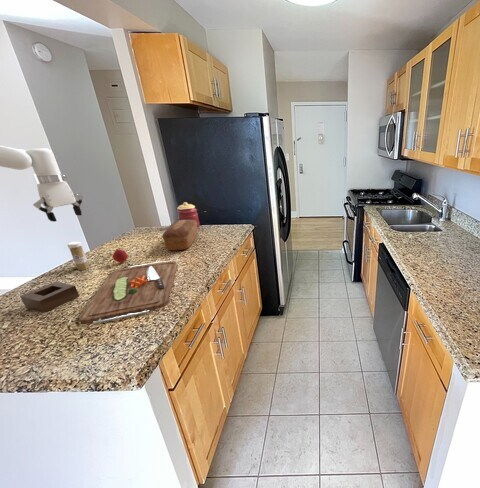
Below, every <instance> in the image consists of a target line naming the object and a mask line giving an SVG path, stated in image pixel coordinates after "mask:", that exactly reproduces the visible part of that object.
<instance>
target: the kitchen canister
mask: <svg viewBox="0 0 480 488" xmlns="http://www.w3.org/2000/svg"><path fill="white" fill-rule="evenodd" d="M176 209H177V210H176V213H177V219H178V221H179V220H195V221H196V222H197V228H198V227H200V226H201V225H200V224H201V223H200V222H201V221H200V220H199V213H198V212H197V211H198V209H197V208H196V205H194V204H192V203H188V202H186V201H184V202H183V203H182V204H180V205H178V207H176Z"/></svg>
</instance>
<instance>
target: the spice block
mask: <svg viewBox="0 0 480 488" xmlns="http://www.w3.org/2000/svg"><path fill="white" fill-rule="evenodd" d="M19 297H20V299H21V301H22V303H23V305H24V307H25V308H27V309H31V310H33V311H38V312H41V313H47V312H50V311H52V310H55V309H57V308H58V307H60V306H62V305H64V304H67V303H69V302H70V301H73V300H75V299H77V298H79V297H80V294H79V291H78V289H77V286H76V285H74V284H71V283H70V284H69V283H65V282H61V281H54V282H51V283H49V284H46V285H44V286H42V287H39V288H36V289H34V290H32V291H29V292H27V293H24V294H22V295H19Z"/></svg>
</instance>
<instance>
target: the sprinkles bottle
mask: <svg viewBox="0 0 480 488" xmlns="http://www.w3.org/2000/svg"><path fill="white" fill-rule="evenodd" d="M66 245H67V247H68V249H69V252H70V254H71V256H72V259H73V262H74V264H75V266H76V269H77V271H85V270H87V269H89V268H90V264H89V262H88V258H87V256H86V254H85V251H84V249H83V246H82V243H81V241H77V240H76V241H72V242H69V243H67V244H66Z"/></svg>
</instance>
